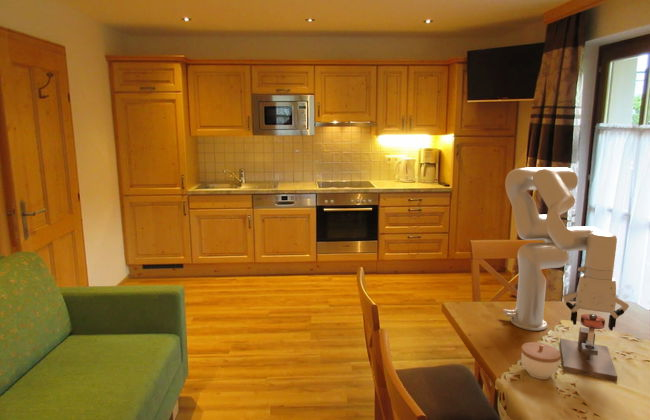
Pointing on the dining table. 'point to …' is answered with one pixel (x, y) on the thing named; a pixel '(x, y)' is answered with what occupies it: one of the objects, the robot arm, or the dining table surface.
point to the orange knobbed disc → (591, 328)
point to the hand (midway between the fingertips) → (592, 325)
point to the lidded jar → (540, 359)
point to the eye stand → (577, 360)
